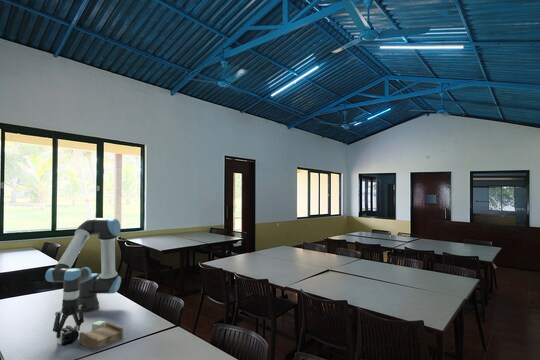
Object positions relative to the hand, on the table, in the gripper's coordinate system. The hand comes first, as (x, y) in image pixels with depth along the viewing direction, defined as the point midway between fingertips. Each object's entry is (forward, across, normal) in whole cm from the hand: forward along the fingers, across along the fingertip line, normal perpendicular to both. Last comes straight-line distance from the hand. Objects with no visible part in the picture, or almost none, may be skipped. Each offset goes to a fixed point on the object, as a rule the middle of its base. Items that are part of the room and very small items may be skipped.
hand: (67, 340), depth 164 cm
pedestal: (0, -10, +14) cm, 17 cm away
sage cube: (+1, -16, +2) cm, 16 cm away
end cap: (+1, 0, 0) cm, 1 cm away
